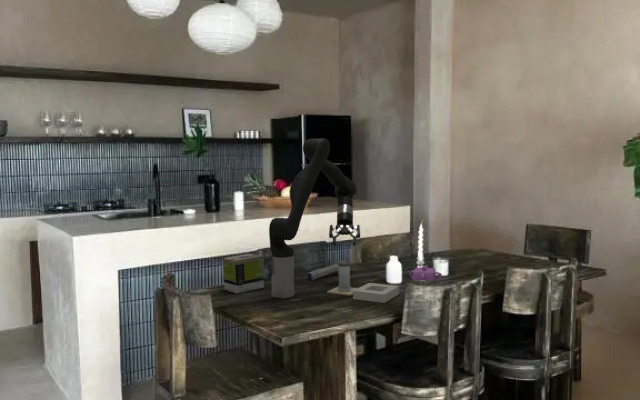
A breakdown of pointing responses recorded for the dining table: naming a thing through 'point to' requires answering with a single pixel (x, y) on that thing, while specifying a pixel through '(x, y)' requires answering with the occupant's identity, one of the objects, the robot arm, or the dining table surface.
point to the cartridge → (344, 276)
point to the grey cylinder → (322, 272)
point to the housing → (376, 292)
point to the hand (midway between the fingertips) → (344, 244)
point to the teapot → (425, 274)
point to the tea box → (243, 273)
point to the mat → (335, 291)
